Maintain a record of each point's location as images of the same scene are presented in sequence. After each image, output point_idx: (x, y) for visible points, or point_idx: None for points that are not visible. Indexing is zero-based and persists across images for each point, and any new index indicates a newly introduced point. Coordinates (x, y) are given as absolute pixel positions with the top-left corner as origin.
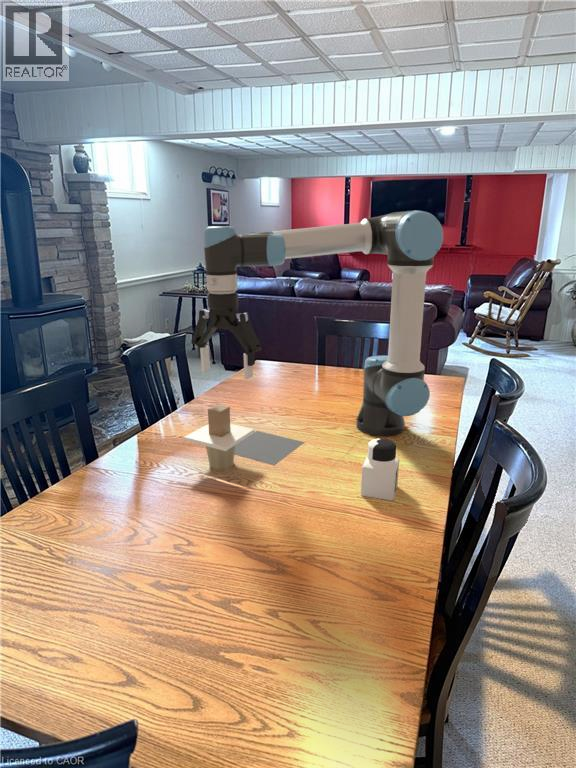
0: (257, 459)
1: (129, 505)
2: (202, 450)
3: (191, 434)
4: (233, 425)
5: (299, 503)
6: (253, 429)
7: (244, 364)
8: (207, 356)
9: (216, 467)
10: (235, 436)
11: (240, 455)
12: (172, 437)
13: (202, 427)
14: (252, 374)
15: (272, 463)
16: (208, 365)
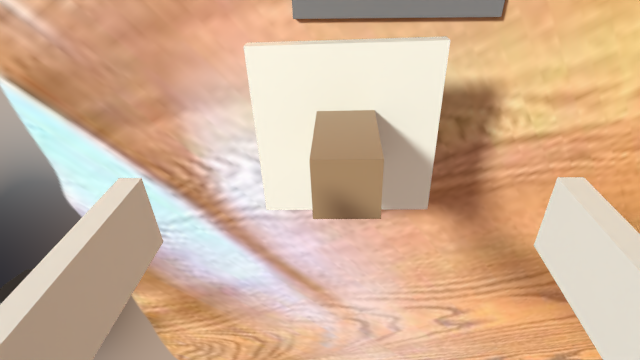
0: (431, 10)
1: (293, 286)
2: (224, 37)
3: (271, 188)
4: (347, 52)
5: (621, 148)
6: (448, 45)
7: (601, 346)
8: (80, 288)
9: None
10: (414, 134)
11: (364, 15)
12: (63, 8)
13: (257, 128)
14: (592, 192)
15: (491, 9)
16: (128, 220)
